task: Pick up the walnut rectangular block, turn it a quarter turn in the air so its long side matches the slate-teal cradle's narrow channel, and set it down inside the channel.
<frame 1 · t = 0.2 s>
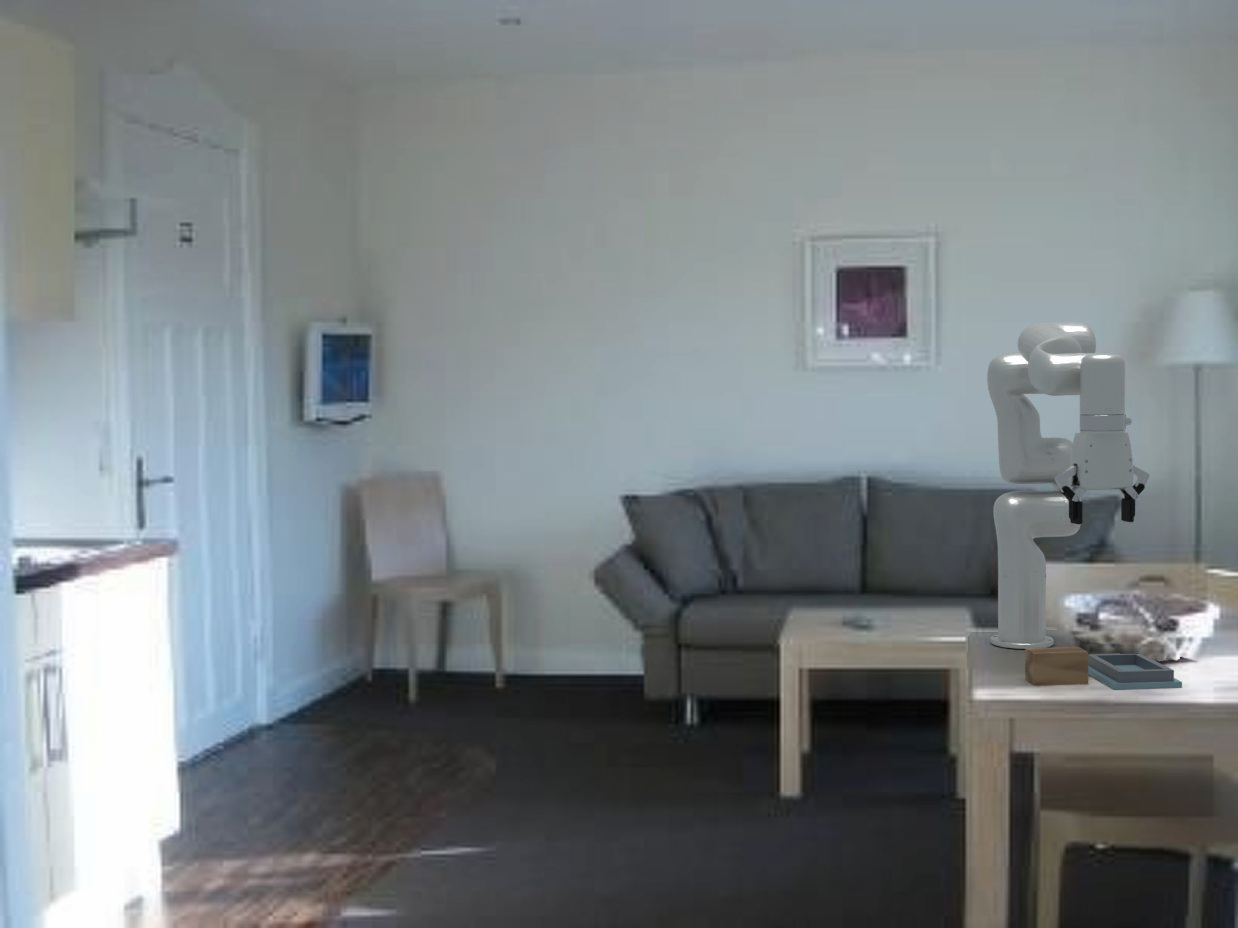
hand: (1101, 522, 262), 30 cm above the table, tool pointing down, fingers open, 9 cm apart
walnut block: (1056, 682, 274), on the table
cradle: (1129, 678, 275), on the table
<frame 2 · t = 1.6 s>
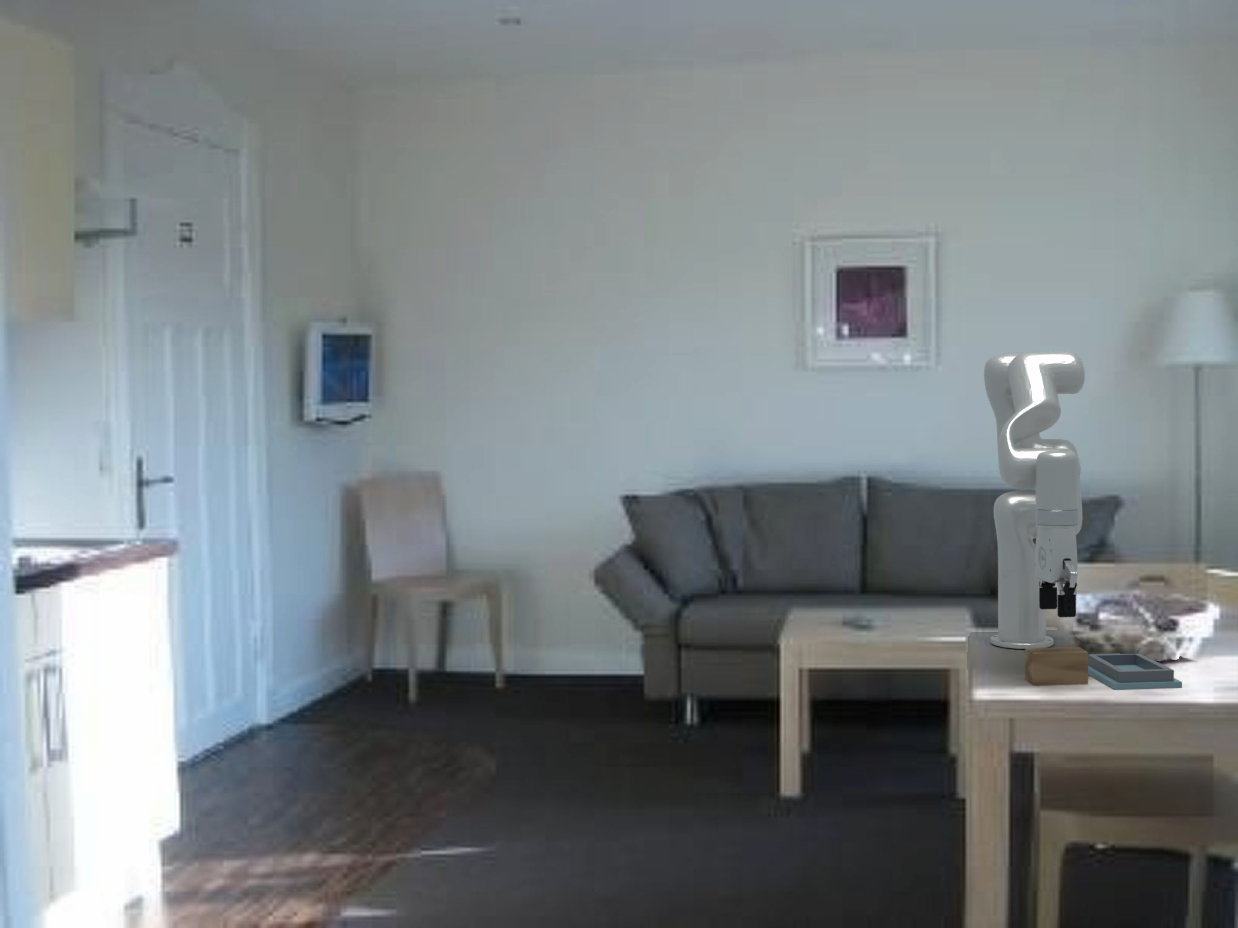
hand: (1057, 612, 272), 13 cm above the table, tool pointing down, fingers open, 9 cm apart
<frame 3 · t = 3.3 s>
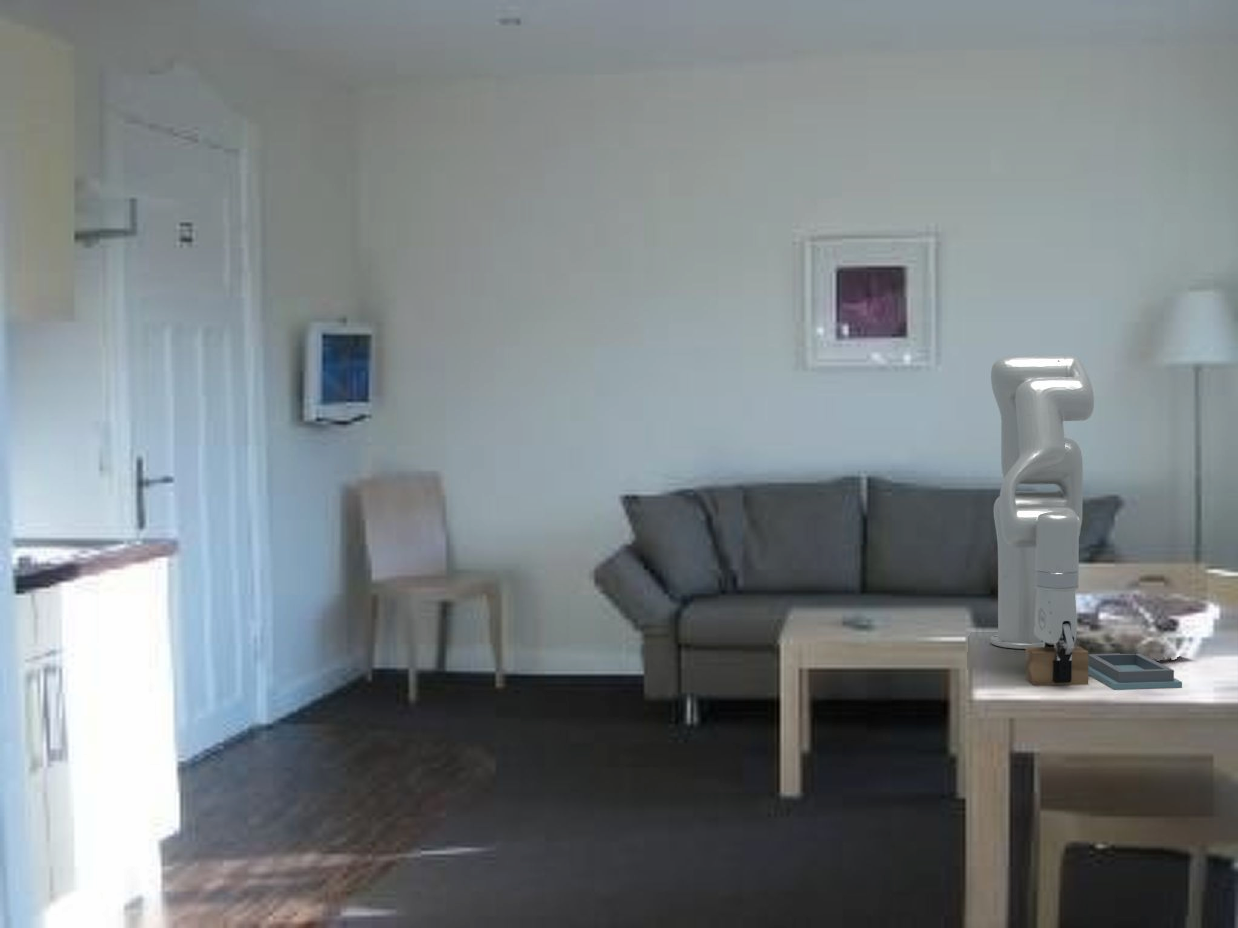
hand: (1056, 677, 274), 1 cm above the table, tool pointing down, fingers closed on walnut block, 5 cm apart
walnut block: (1056, 681, 274), on the table, touching gripper
everything else where it was.
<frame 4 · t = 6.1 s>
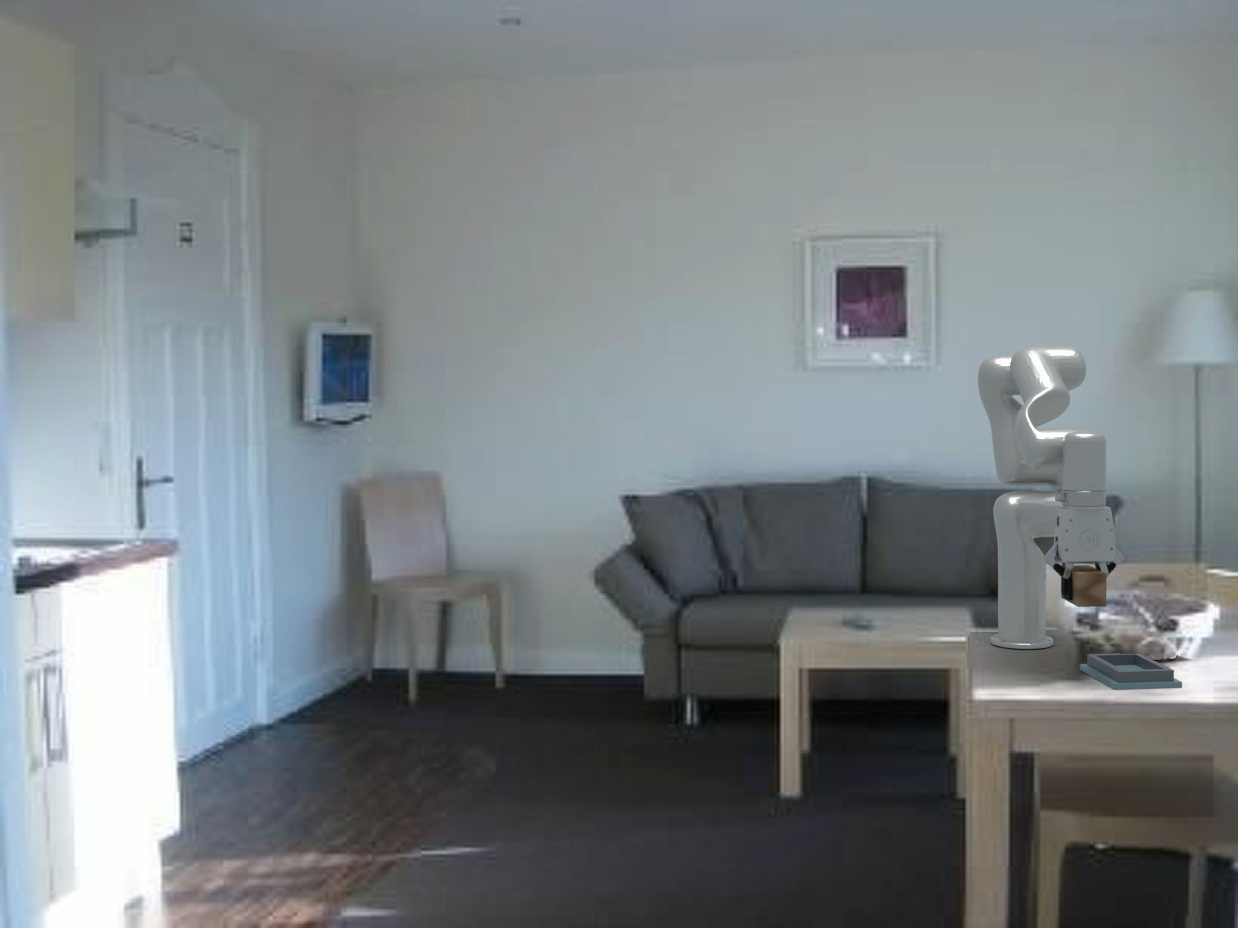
hand: (1083, 597, 273), 15 cm above the table, tool pointing down, fingers closed on walnut block, 5 cm apart
walnut block: (1083, 601, 273), point 15 cm above the table, touching gripper
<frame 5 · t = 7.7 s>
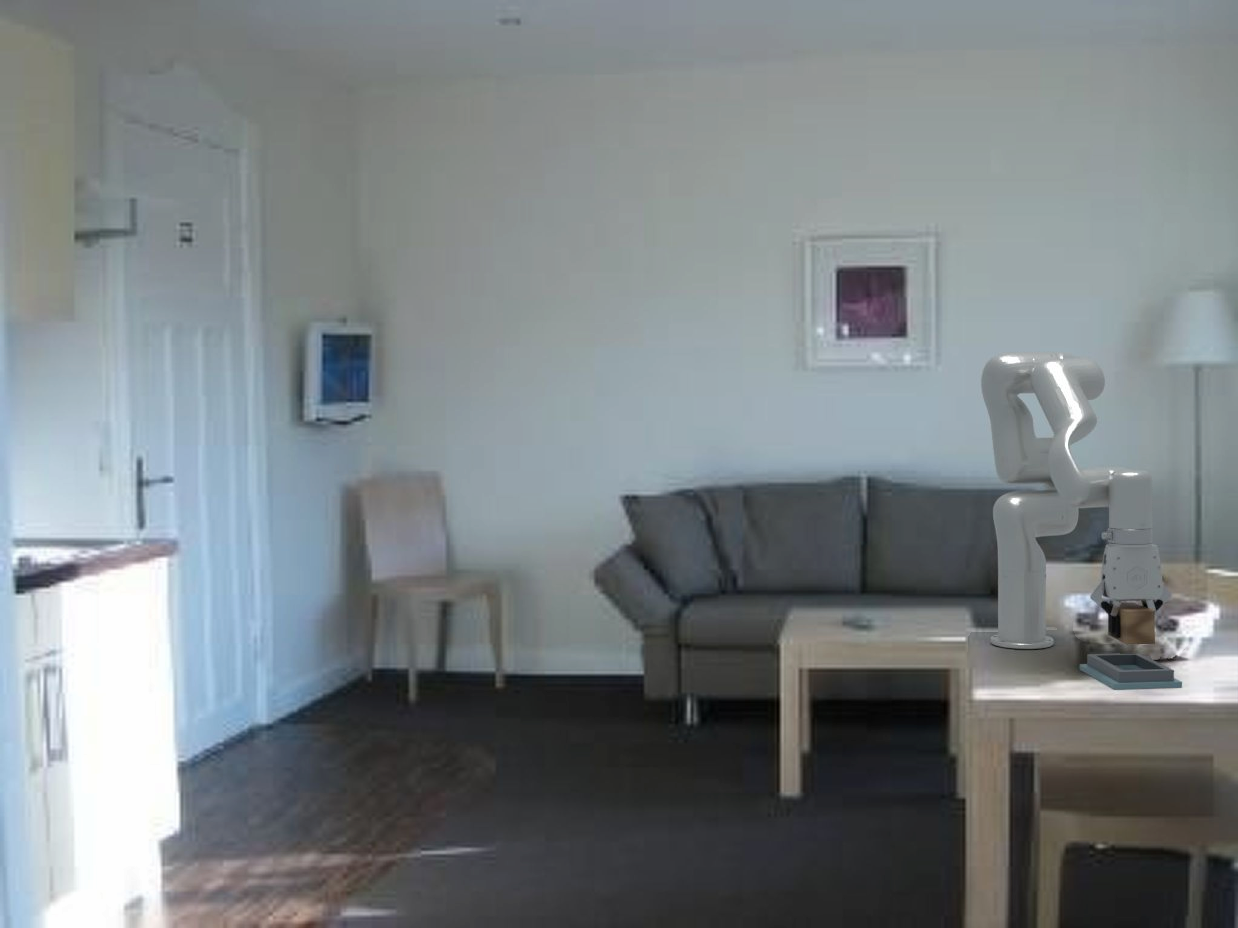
hand: (1130, 635, 275), 8 cm above the table, tool pointing down, fingers closed on walnut block, 5 cm apart
walnut block: (1131, 639, 275), point 7 cm above the table, touching gripper
when the fingers open (4 cm above the table, at t = 8.8 s): walnut block drops 2 cm, resting on cradle.
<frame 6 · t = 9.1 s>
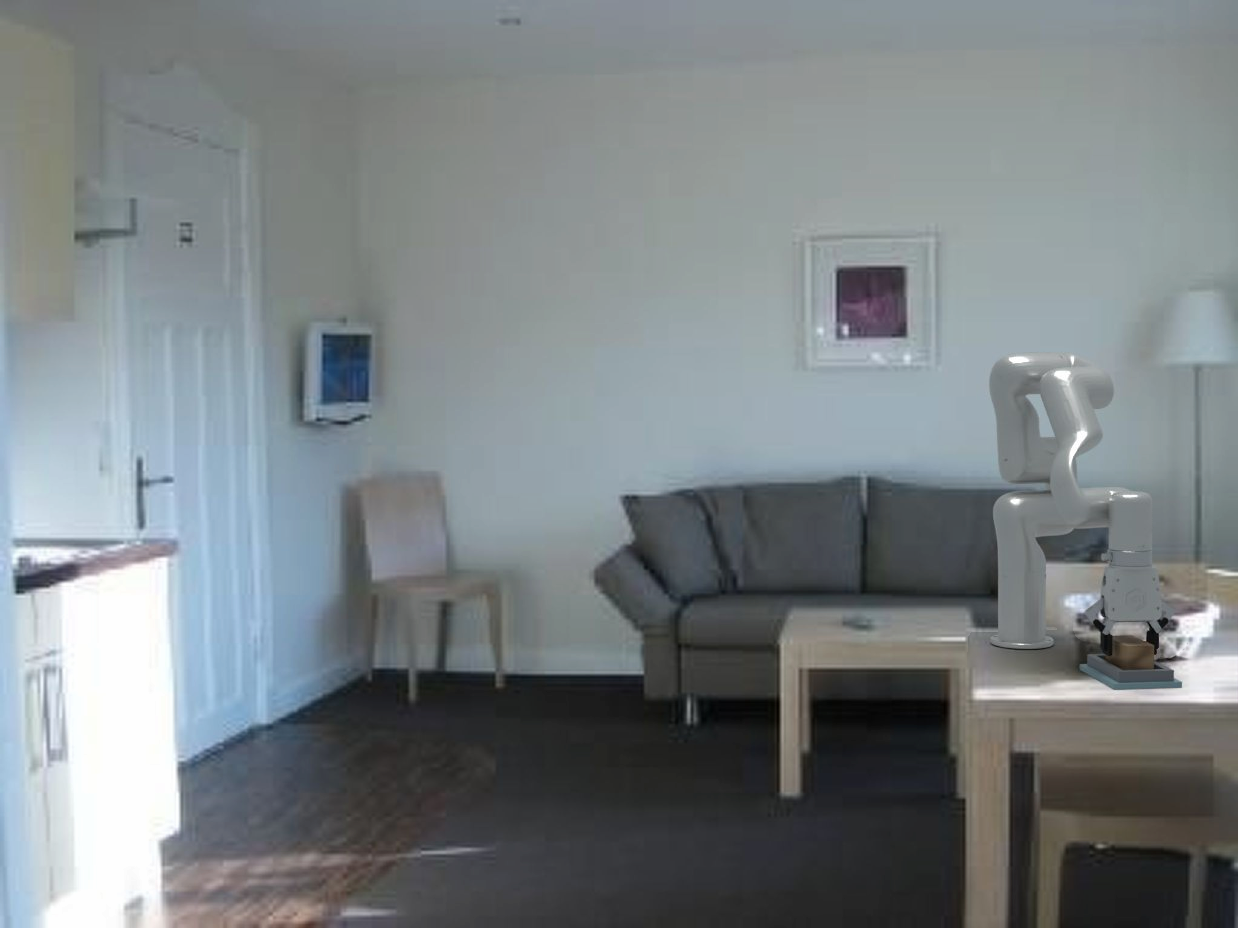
hand: (1129, 653, 275), 5 cm above the table, tool pointing down, fingers open, 7 cm apart
walnut block: (1129, 672, 275), point 1 cm above the table, touching cradle
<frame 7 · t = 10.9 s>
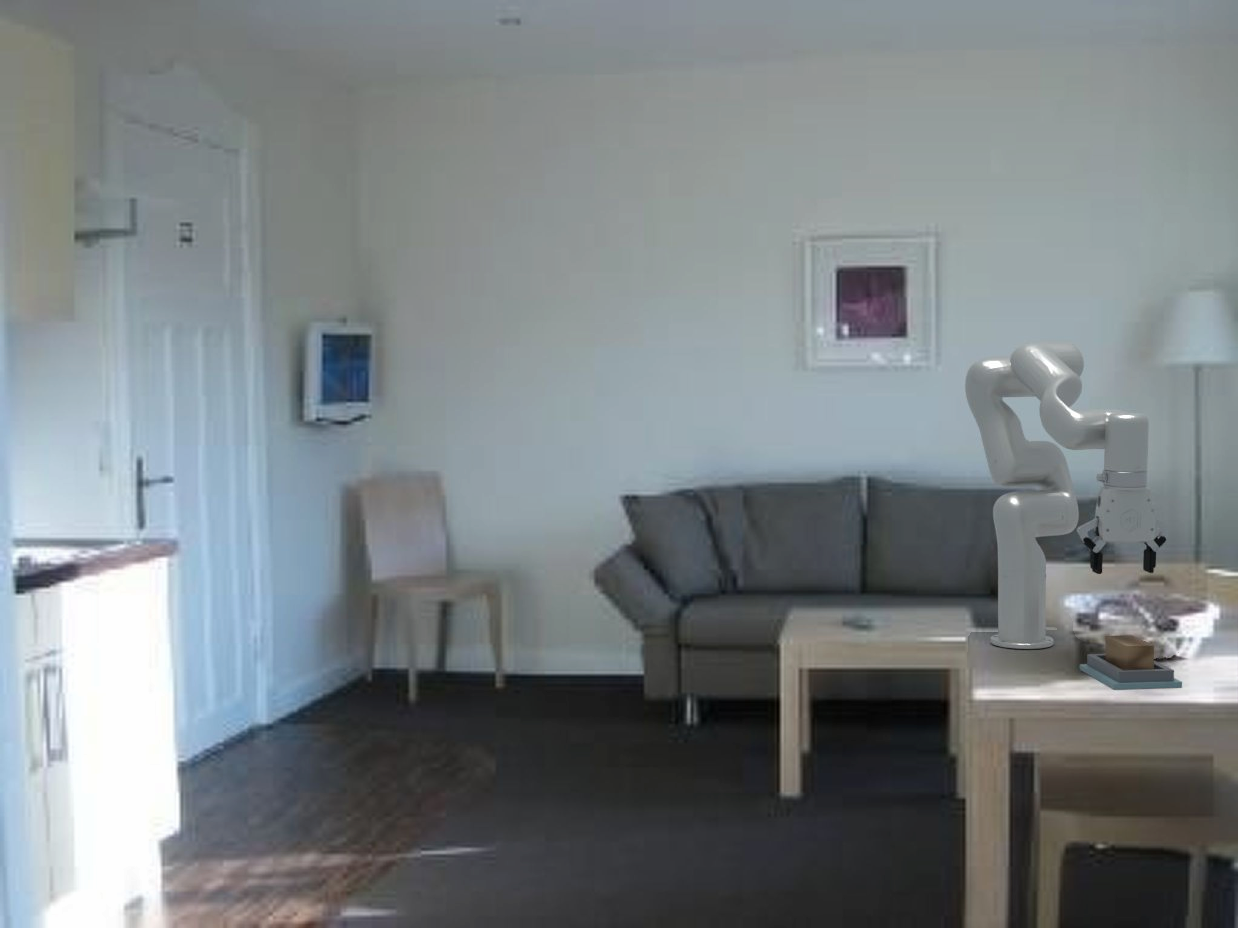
hand: (1122, 572, 276), 19 cm above the table, tool pointing down, fingers open, 9 cm apart
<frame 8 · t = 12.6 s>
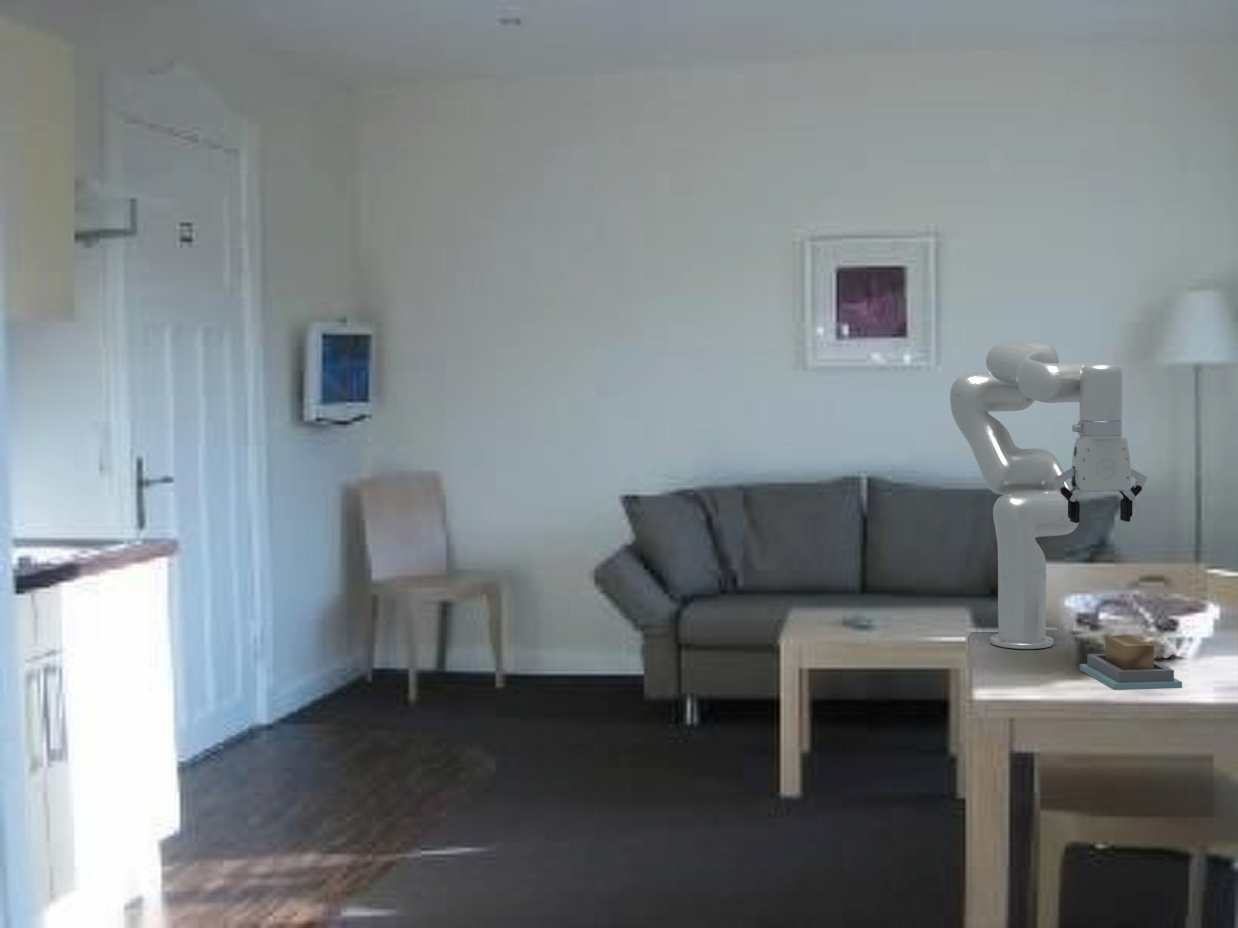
hand: (1100, 521, 280), 28 cm above the table, tool pointing down, fingers open, 9 cm apart
at the end: walnut block 0.1 cm off-centre on the cradle, point 1.0 cm above the cradle's base; walnut block tilted 0°; the gripper is holding nothing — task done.
